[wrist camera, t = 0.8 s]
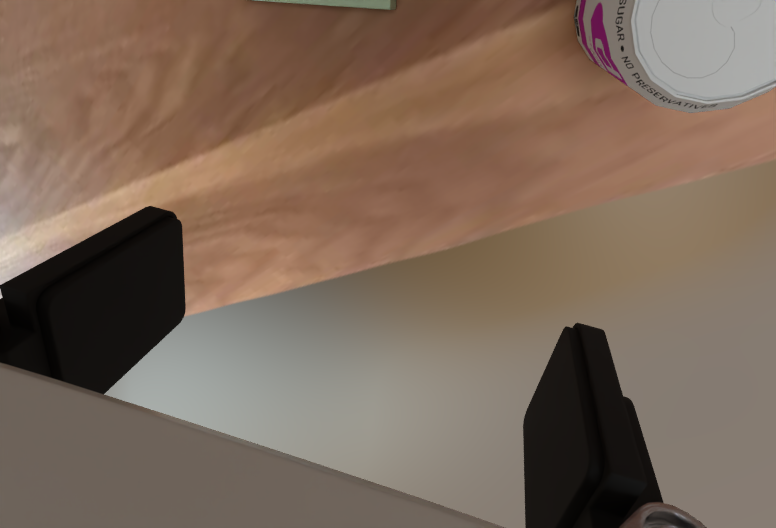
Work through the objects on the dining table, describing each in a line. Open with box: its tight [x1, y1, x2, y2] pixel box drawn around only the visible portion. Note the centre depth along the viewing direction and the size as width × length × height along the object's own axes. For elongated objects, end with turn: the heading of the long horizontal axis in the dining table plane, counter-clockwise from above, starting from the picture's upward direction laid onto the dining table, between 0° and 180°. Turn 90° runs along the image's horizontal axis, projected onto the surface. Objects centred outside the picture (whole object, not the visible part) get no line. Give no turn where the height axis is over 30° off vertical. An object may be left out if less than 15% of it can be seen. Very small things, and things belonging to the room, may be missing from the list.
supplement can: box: [574, 0, 776, 113], centre depth 24 cm, size 8×8×15 cm
